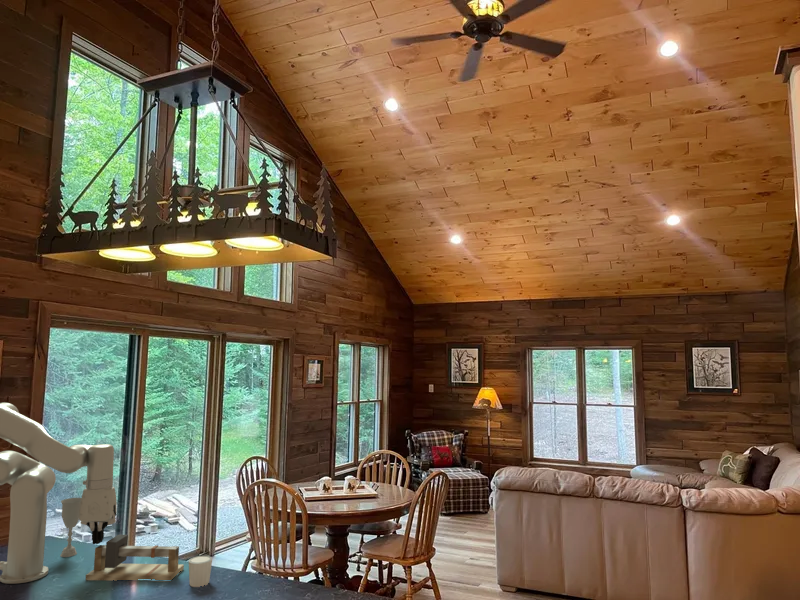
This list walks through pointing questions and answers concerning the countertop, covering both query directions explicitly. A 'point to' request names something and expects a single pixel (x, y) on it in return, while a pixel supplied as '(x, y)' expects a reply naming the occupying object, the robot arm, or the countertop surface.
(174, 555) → the pipe rig
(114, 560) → the collar
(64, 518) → the chalice
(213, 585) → the countertop surface
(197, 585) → the cream short cylinder
